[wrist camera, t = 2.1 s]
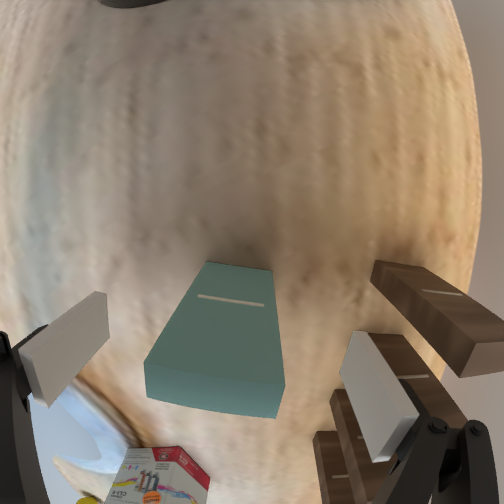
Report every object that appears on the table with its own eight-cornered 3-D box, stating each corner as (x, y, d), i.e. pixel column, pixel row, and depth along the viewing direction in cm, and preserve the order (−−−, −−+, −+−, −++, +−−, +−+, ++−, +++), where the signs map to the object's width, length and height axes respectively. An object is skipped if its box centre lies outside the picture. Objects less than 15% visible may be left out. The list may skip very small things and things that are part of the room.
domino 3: (334, 389, 24) (368, 501, 12) (379, 389, 25) (426, 487, 12) (329, 402, 25) (356, 512, 12) (373, 402, 25) (413, 499, 12)
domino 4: (375, 259, 21) (476, 342, 9) (424, 267, 21) (528, 338, 9) (369, 282, 22) (458, 378, 9) (418, 288, 22) (513, 369, 9)
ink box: (180, 444, 27) (158, 525, 16) (211, 478, 29) (200, 548, 18) (126, 446, 28) (97, 513, 17) (159, 479, 30) (141, 540, 19)
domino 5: (355, 332, 23) (416, 446, 10) (402, 334, 23) (475, 430, 10) (349, 350, 23) (400, 466, 11) (396, 352, 23) (460, 450, 11)
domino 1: (206, 260, 22) (143, 361, 9) (272, 270, 22) (285, 384, 9) (204, 284, 22) (146, 398, 10) (268, 293, 22) (275, 419, 10)
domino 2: (316, 431, 26) (334, 531, 13) (358, 430, 26) (387, 521, 14) (312, 441, 27) (327, 537, 14) (352, 440, 27) (377, 529, 14)
